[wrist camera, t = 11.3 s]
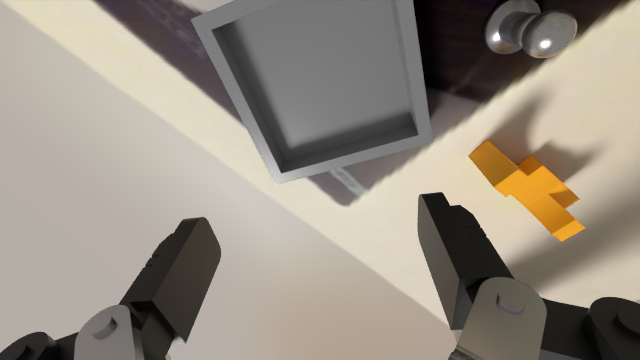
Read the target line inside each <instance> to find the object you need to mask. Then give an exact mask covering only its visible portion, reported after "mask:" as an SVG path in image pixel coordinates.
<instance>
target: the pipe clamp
mask: <svg viewBox="0 0 640 360" xmlns="http://www.w3.org/2000/svg"><path fill="white" fill-rule="evenodd" d="M469 158H470V159H471V160H472V161H473V162H474V164H475V165H476V166H477V167H478V168H479V170H480V171H481V172H482V173H483V175H484V176H485V177H486V178H487V179H488V181H489V182H490V183H491V184H492V185H493V187H494V188H496V189H497V190H498V191H499V192H501V193H502V194H503V195H504V196H505V197H507V196H508V195H510V194H511V195H512V196H514V197H515V198H516V199H517V200H518V201H519V202H520V203H521V204H522V205H524V206H525V207H526V208H527V209H528V210H529V211H530V212H531V213H532V214H533V215H534V216H535V217H536V218H537V219H538V220H539V221H540V222H541V223H542V224H543V225H544V226H545V227H546V228H547V229H548V230H549V232H550V233H551V234H552V235H554V236H555V237H556V238H557V239H559V240H560V241H561V242H562V241H564V240H566V239H567V238H569V237H571V236H573V235H574V234H576V233H578V232H580V231H581V230H583V229H585V227H584V226H583V225H582V224H581V223H579V222H578V221H577V220H576V219H575V218H574V217H573V216H572V215H571V214H570V213H569V212H568V211H567V210H566V209H565V208H567V207H568V206H570V205H571V204H573V203H575V202H576V201H578V200H579V198H578V197H577V196H576V195H575V194H574V193H573V192H572V191H571V190H570V189H569V188H568V187H566V186H565V185H564V184H563V183H562V182H561V181H560V180H559V179H558V178H556V177H555V176H554V175H553V174H552V173H551V172H550V171H549V170H548V169H547V168H545V167H544V166H543V165H542V164H541V163H540V162H539V161H537V160H536V159H535V158H534V157H532V156H529V157H528V158H527V159H525V160H524V161H523V162H522V163H520V164H519V165H518V166H517V165H516V164H514V163H513V162H512V161H511V160H510V159H509V158H508V157H507V156H505V155H504V154H503V153H502V152H501V151H500V150H499V149H497V148H496V147H495V146H494V145H493V144H492V143H491V142H490V141H488V140H487V141H485V142H484V143H483V144H482V145H481V146H479V147H478V148H477V149H476V150H475V151H474V152H472V153H471V154H470V155H469Z"/></svg>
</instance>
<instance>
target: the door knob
mask: <svg viewBox="0 0 640 360" xmlns="http://www.w3.org/2000/svg"><path fill="white" fill-rule="evenodd" d="M576 31H577V22H576V19H575V17H574V16H573V15H572V14H571V13H570V12H568V11H566V10H562V9H551V10H547V11H544V12H542V13H541V11H540V8H539V6H538V4H537V3H536V2H535V1H534V0H505V1H503V2H501V3H500V4H498V5H497V6H496V7H495V8H494V9H493V10H492V11H491V12H490V14H489V15H488V17H487V19H486V21H485V23H484V26H483V31H482V36H483V41H484V44H485V45H486V47H487V48H488V49H490V50H491V51H493V52H496V53H499V54H510V53H514V52H516V51H518V50H520V49H522V48H523V49H524V51H525V52H526V53H527V54H528V55H530V56H532V57H536V58H547V57H551V56H554V55H556V54H558V53H560V52H561V51H563V50H564V49H565V48H567V47H568V46H569V44H570V43H571V42H572V41H573V39H574V37H575V35H576Z"/></svg>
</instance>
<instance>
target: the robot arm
mask: <svg viewBox="0 0 640 360" xmlns="http://www.w3.org/2000/svg"><path fill="white" fill-rule="evenodd" d="M418 236H419V241H420V244H421V247H422V250H423V253H424V256H425V258H426V261H427V264H428V267H429V270H430V272H431V275H432V278H433V281H434V284H435V286H436V289H437V292H438V295H439V298H440V301H441V303H442V306H443V309H444V312H445V315H446V317H447V320H448V323H449V326H450V329H451V330H453V333H454V336H455V339H456V342H457V346H456V348H455V350H454V352H452V353H451V354H450V356H449V358H448V360H640V304H638V303H636V302H633V301H630V300H626V299H623V298H617V297H603V298H600V299H597V300H596V301H594V302H593V303H592V305H591V306H590V308H584V307H579V306H574V305H569V304H564V303H559V302H554V301H550V300H547V299H544V298H541V297H540V296H539V295H538V294H537V293H536V292H535V291H534V290H533V289H532V288H530V287H529V286H527V285H526V284H524V283H522V282H520V281H517V280H515V279H514V278H513V276H512V275H511V273H510V272H509V270H508V268H507V267H506V265H505V264H504V262H503V261H502V259H501V258H500V256H499V254H498V253H497V251H496V250H495V248H494V247H493V245H492V243H491V242H490V240H489V239H488V238H487V237H486V234H485V233H484V231H483V229H482V228H480V225H479V223H478V222H477V220H476V218H475V217H474V215H473V214H472V213H470V212H469V211H468V210H466V209H465V208H464V207H462V206H461V205H455V206H450V205H449V203H448V201H447V199H446V197H445V196H444V194H443V193H442V192H438V193H429V194H420V195H419V199H418ZM220 257H221V248H220V245H219V243H218V241H217V238H216V236H215V234H214V233H213V230H212V228H211V226H210V224H209V222H208V220H207V219H206V218H204V217H199V218H190V219H184V220H182V221H181V223H180V224H179V226H178V227H177V229H176V230H175V232H174V233H173V234H170V235H169V236H168V237H167V238H166V239H165V240H164V241H162V242H161V243H160V244H159V246H158V247H157V249H156V250H155V251H154V253H153V255H152V258H150V259H149V260H148V262H147V263H146V265H145V267H144V268H143V269H142V271H141V272H140V274H139V275H138V276H137V278H136V279H135V281H134V282H133V284H132V285H131V287H130V288H129V290H128V291H127V293H126V294H125V296H124V297H123V299H122V300H121V301H120V303H119V304H118V305H114V306H111V307H108V308H106V309H104V310H102V311H100V312H99V313H98V314H96V315H95V316H93V317H92V318H91V319H90V320H89V321H88V322H87V323H86V324H85V325H84V326H83V327H82V329H81V330H80V332H77V333H74V334H72V335H69V336H66V337H63V338H61V339H58V340H53V339H52V338H51V337H50V336H48V335H47V334H46V333H44V332H35V333H31V334H29V335H26V336H24V337H22V338H20V339H18V340H17V341H15V342H14V343H12V344H11V345H10V346H8V347H7V348H6V349H5V350H3V351H2V352H1V353H0V360H171V358H170V356H169V354H168V350H169V348H170V346H171V344H186V341H187V339H188V336H189V334H190V332H191V329H192V327H193V325H194V322H195V320H196V317H197V315H198V312H199V310H200V308H201V305H202V303H203V300H204V298H205V295H206V293H207V291H208V288H209V286H210V283H211V281H212V278H213V276H214V273H215V271H216V269H217V266H218V264H219V262H220Z"/></svg>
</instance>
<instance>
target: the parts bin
mask: <svg viewBox="0 0 640 360" xmlns="http://www.w3.org/2000/svg"><path fill="white" fill-rule="evenodd" d="M191 22H192V23H193V25H194V27H195V29H196V31H197V33H198V35H199V37H200V39H201V41H202V43H203V45H204V47H205V49H206V51H207V53H208V55H209V56H210V58H211V60H212V62H213V64H214V66H215V68H216V70H217V72H218V74H219V76H220V78H221V80H222V82H223V84H224V86H225V88H226V90H227V91H228V93H229V95H230V97H231V99H232V101H233V103H234V105H235V107H236V109H237V111H238V113H239V115H240V117H241V119H242V121H243V123H244V125H245V126H246V128H247V130H248V132H249V134H250V136H251V138H252V140H253V142H254V144H255V146H256V148H257V150H258V152H259V154H260V156H261V158H262V159H263V161H264V163H265V165H266V167H267V169H268V171H269V173H270V175H271V177H272V179H273V181H274V183H275V185H278V184H282V183H286V182H289V181H293V180H296V179H300V178H304V177H307V176H311V175H315V174H318V173H322V172H326V171H329V170H333V169H337V168H340V167H344V166H348V165H351V164H355V163H359V162H362V161H366V160H370V159H373V158H377V157H381V156H384V155H388V154H392V153H395V152H399V151H402V150H406V149H410V148H413V147H417V146H421V145H424V144H428V143H432V142H433V140H432V133H431V126H430V119H429V111H428V104H427V97H426V90H425V83H424V76H423V69H422V62H421V55H420V48H419V40H418V33H417V26H416V19H415V12H414V5H413V0H235V1H233V2H230V3H228V4H226V5H223V6H221V7H219V8H216V9H214V10H211V11H209V12H207V13H204V14H202V15H200V16H197V17H195V18H193V19H191Z"/></svg>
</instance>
